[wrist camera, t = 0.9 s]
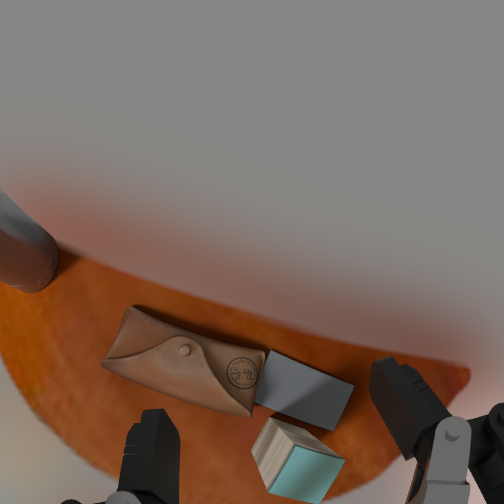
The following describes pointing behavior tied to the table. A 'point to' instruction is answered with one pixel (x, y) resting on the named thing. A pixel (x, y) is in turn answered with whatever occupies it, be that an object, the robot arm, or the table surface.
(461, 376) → the table surface
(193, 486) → the table surface
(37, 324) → the table surface
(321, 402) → the rubber mat
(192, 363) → the sunglasses case
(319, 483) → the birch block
